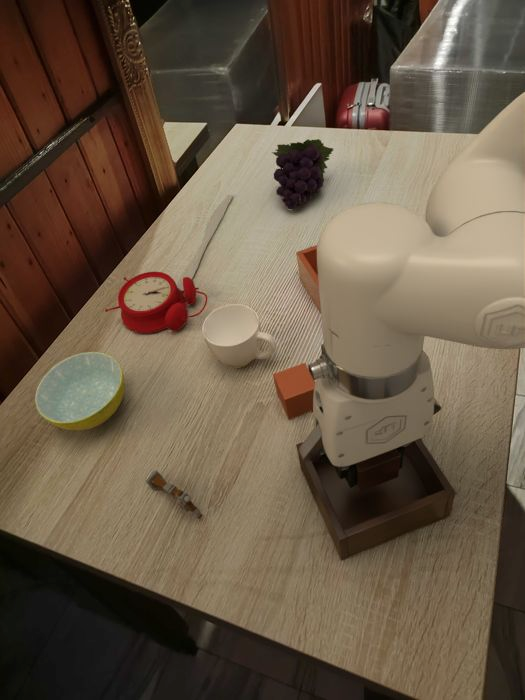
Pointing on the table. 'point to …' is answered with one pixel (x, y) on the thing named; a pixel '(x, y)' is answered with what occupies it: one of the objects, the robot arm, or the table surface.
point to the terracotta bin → (309, 273)
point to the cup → (236, 335)
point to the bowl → (81, 391)
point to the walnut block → (377, 470)
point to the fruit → (300, 170)
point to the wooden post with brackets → (173, 492)
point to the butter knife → (205, 240)
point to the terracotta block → (295, 390)
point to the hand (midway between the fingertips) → (369, 465)
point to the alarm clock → (155, 302)
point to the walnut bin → (380, 501)
